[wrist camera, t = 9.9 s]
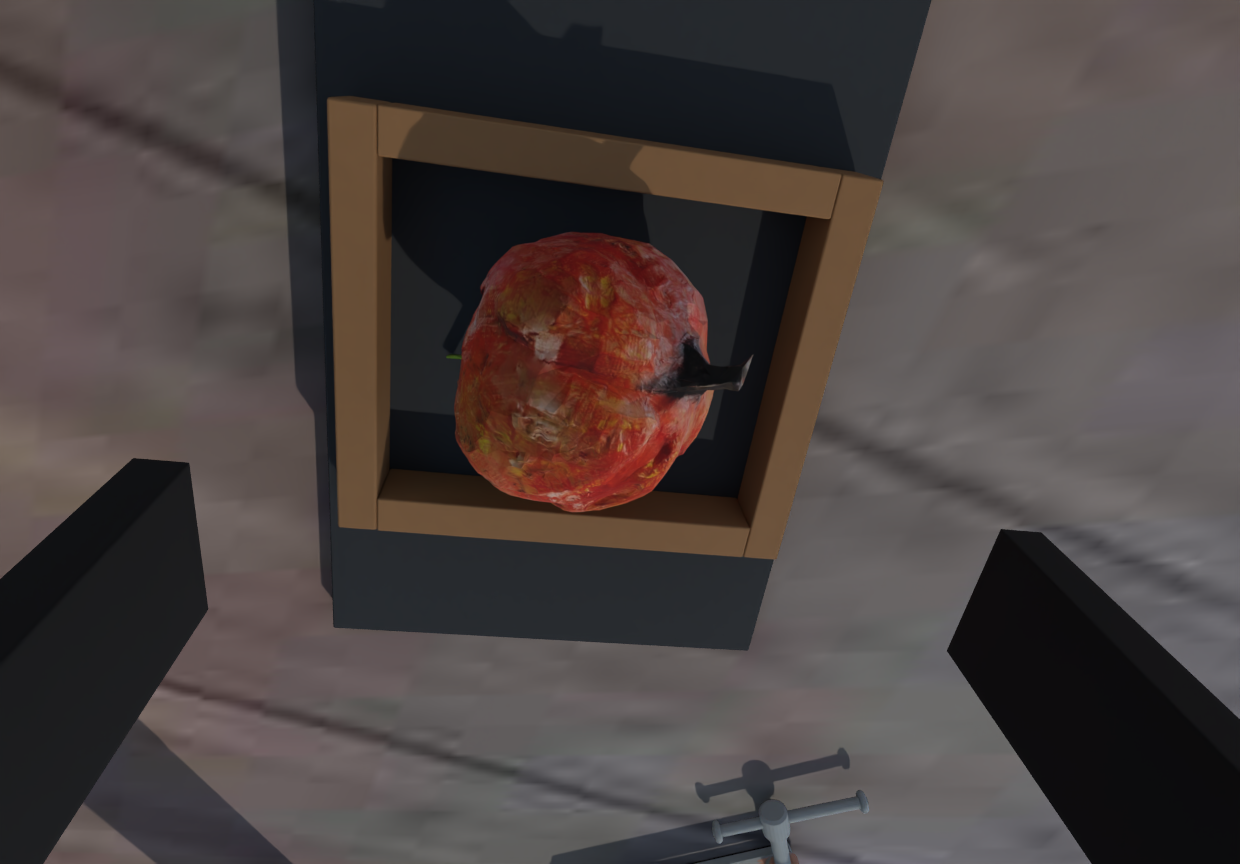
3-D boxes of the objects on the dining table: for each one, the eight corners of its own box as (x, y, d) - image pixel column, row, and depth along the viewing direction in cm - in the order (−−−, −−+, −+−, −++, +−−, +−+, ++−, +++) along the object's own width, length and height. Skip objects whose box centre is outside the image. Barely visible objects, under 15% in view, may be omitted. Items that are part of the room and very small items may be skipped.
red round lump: (524, 432, 26) (785, 497, 21) (356, 501, 20) (662, 614, 15) (518, 220, 24) (812, 237, 19) (326, 229, 18) (678, 258, 13)
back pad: (319, -172, 18) (276, -218, 15) (930, -51, 20) (990, -73, 17) (340, 610, 28) (317, 667, 25) (742, 634, 30) (761, 689, 27)
